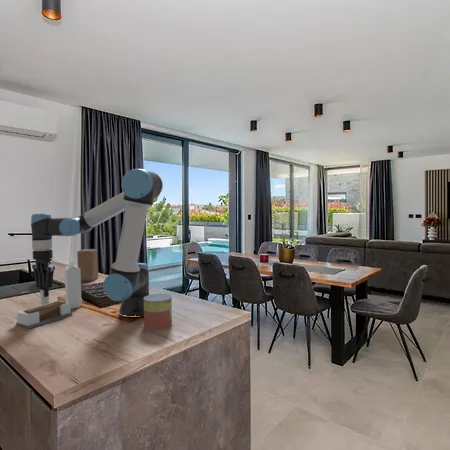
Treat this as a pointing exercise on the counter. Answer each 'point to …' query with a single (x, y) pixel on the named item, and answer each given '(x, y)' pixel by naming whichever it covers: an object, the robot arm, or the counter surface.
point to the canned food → (157, 312)
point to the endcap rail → (33, 319)
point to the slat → (46, 310)
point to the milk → (73, 285)
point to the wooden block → (88, 264)
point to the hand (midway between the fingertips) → (44, 303)
